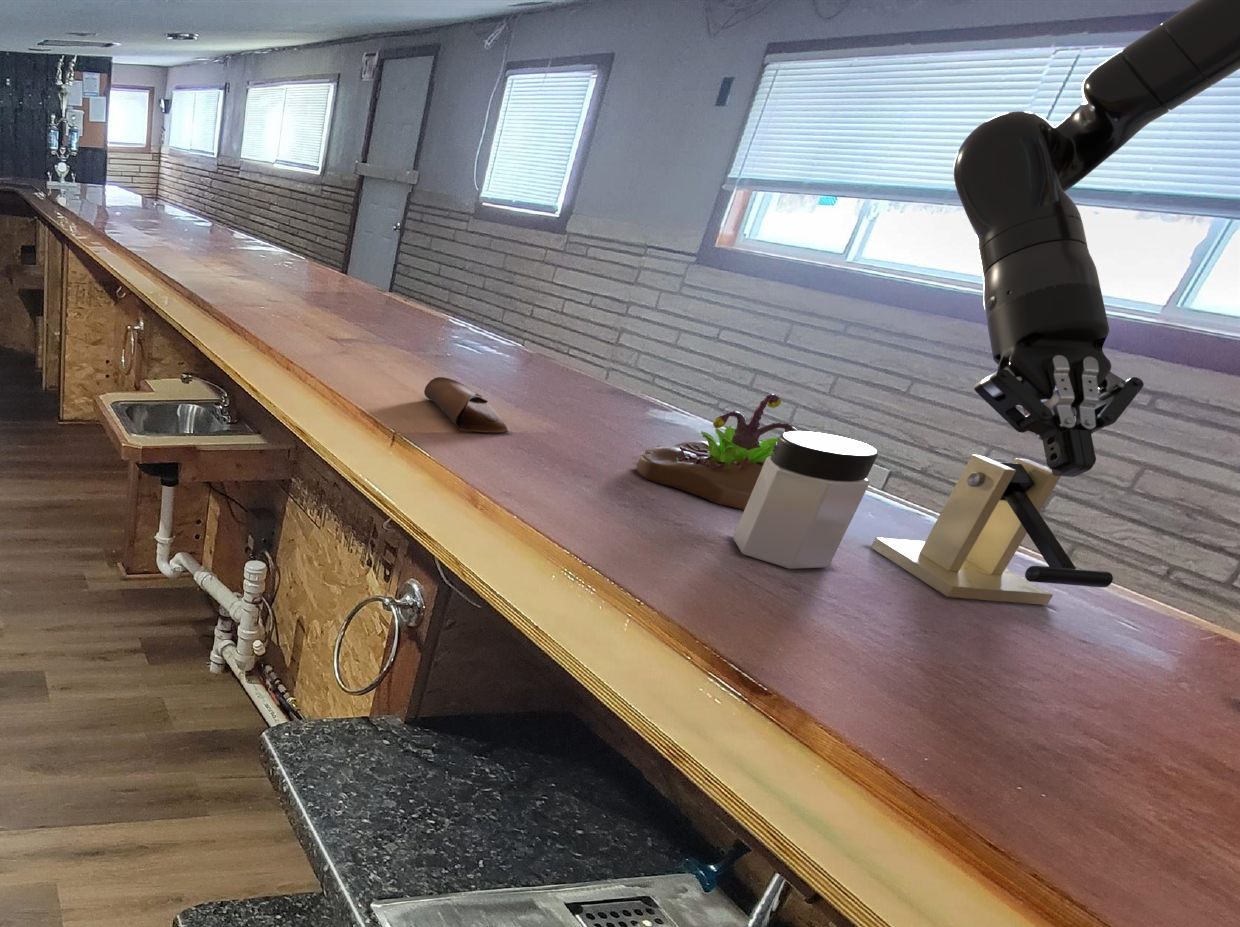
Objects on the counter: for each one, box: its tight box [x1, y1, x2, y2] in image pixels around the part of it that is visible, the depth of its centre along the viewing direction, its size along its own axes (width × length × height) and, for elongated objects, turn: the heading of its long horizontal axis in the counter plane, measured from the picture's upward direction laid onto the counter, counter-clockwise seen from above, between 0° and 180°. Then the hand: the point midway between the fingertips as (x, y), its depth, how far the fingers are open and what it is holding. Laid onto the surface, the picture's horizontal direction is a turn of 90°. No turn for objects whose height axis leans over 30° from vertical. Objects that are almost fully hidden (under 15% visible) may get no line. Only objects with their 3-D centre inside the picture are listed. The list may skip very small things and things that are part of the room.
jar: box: [732, 430, 879, 570], centre depth 91 cm, size 9×8×12 cm
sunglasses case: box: [423, 376, 509, 434], centre depth 136 cm, size 18×7×7 cm
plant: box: [636, 393, 798, 511], centre depth 111 cm, size 20×20×11 cm
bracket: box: [870, 454, 1062, 606], centre depth 88 cm, size 12×9×12 cm
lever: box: [997, 461, 1114, 588], centre depth 83 cm, size 14×6×2 cm, turn 174°
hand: (1073, 472), depth 80 cm, fingers closed
